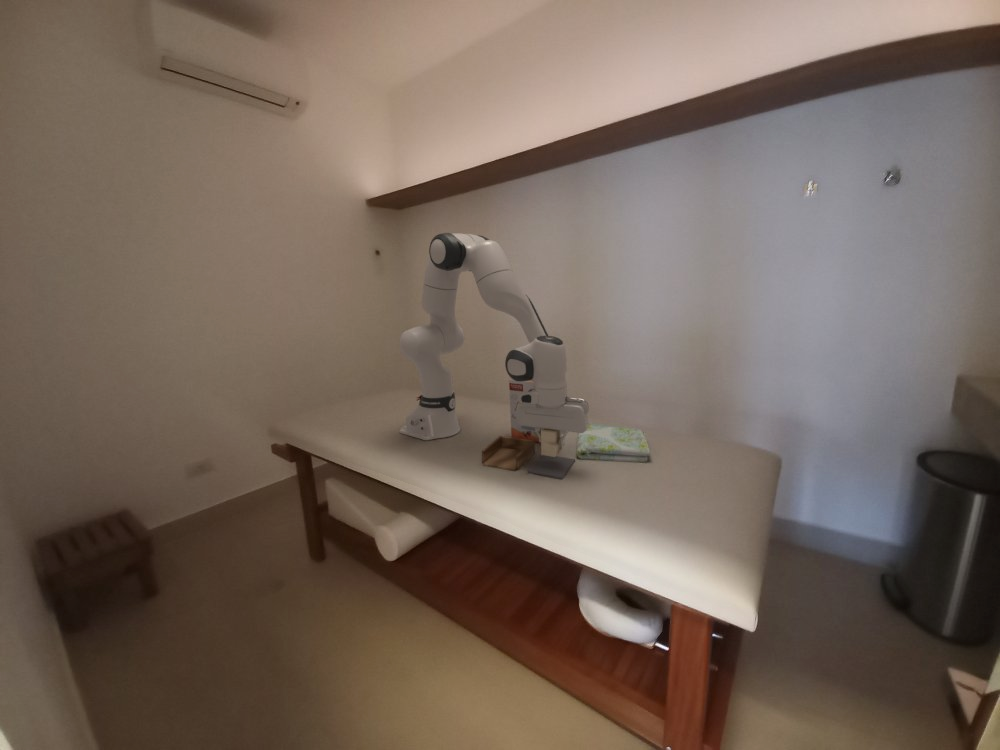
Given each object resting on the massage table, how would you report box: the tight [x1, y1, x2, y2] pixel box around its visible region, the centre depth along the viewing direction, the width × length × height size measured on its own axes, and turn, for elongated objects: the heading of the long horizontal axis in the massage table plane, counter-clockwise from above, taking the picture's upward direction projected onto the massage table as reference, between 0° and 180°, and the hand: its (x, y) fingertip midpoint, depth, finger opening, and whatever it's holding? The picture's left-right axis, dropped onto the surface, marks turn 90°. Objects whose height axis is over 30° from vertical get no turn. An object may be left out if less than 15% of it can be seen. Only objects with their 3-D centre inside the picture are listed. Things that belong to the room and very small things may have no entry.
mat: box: [527, 454, 576, 480], centre depth 113 cm, size 10×12×1 cm
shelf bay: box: [481, 435, 536, 472], centre depth 120 cm, size 12×14×4 cm
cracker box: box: [508, 377, 544, 444], centre depth 132 cm, size 14×6×21 cm, turn 57°
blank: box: [540, 429, 563, 457], centre depth 111 cm, size 6×4×7 cm, turn 154°
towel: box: [575, 423, 651, 463], centre depth 123 cm, size 18×21×5 cm
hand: (551, 443), depth 111 cm, fingers closed on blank, 4 cm apart
